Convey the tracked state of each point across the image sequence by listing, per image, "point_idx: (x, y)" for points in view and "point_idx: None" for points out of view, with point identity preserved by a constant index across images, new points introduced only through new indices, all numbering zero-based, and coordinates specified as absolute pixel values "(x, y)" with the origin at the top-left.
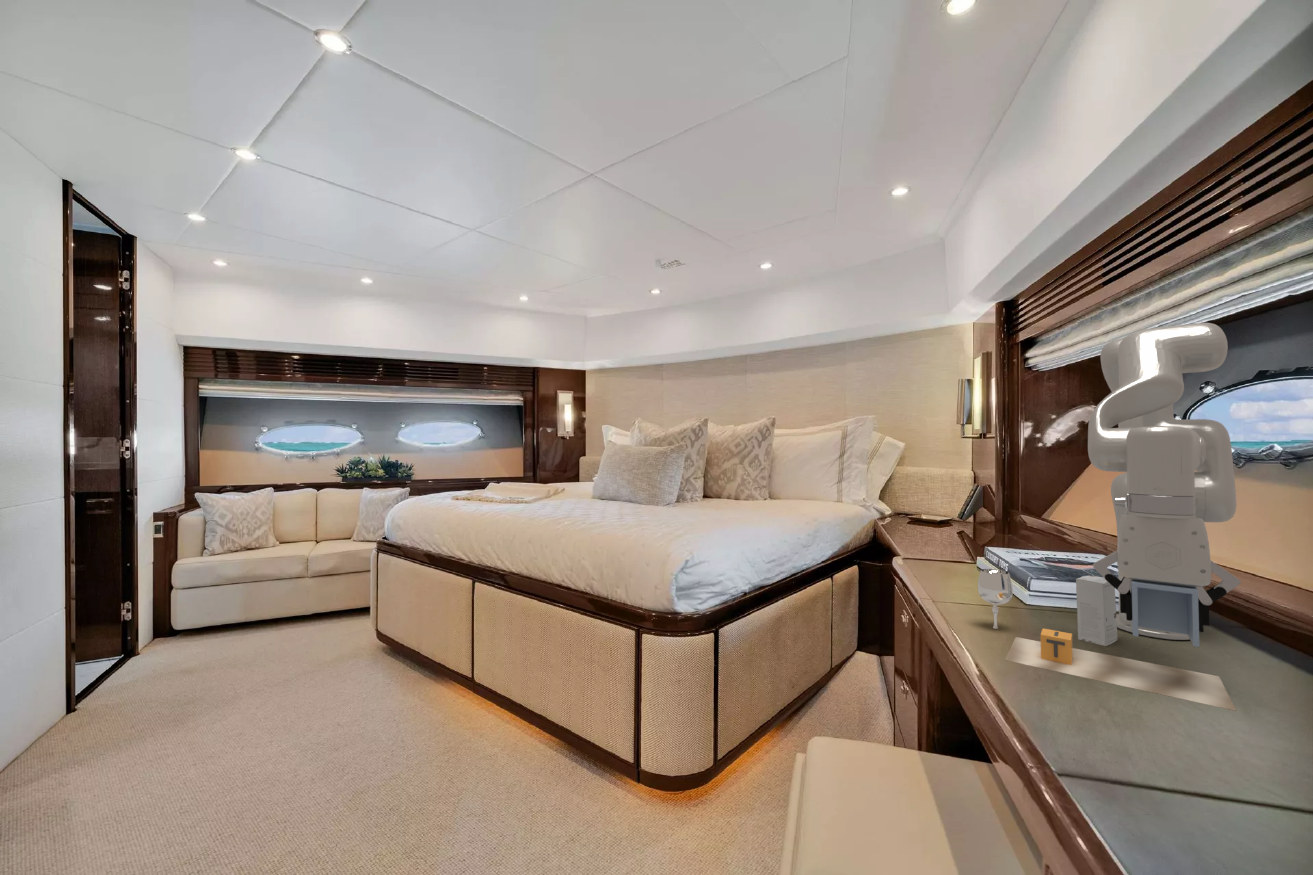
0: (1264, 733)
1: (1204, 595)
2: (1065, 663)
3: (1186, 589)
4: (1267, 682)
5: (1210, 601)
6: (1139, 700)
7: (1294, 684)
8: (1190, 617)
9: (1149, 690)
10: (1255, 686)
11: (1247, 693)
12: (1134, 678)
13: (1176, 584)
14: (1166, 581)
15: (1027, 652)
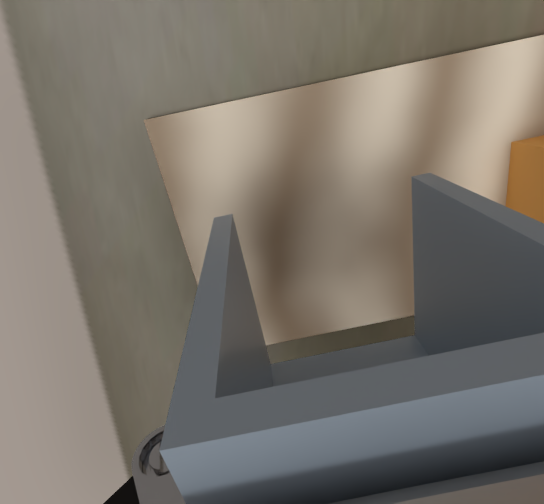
0: (83, 55)
1: (164, 490)
2: (527, 139)
3: (259, 427)
4: (161, 416)
5: (146, 462)
6: (340, 40)
7: (128, 440)
8: (252, 350)
9: (325, 91)
10: (170, 378)
11: (171, 324)
12: (364, 170)
13: (358, 499)
14: (466, 495)
15: None
